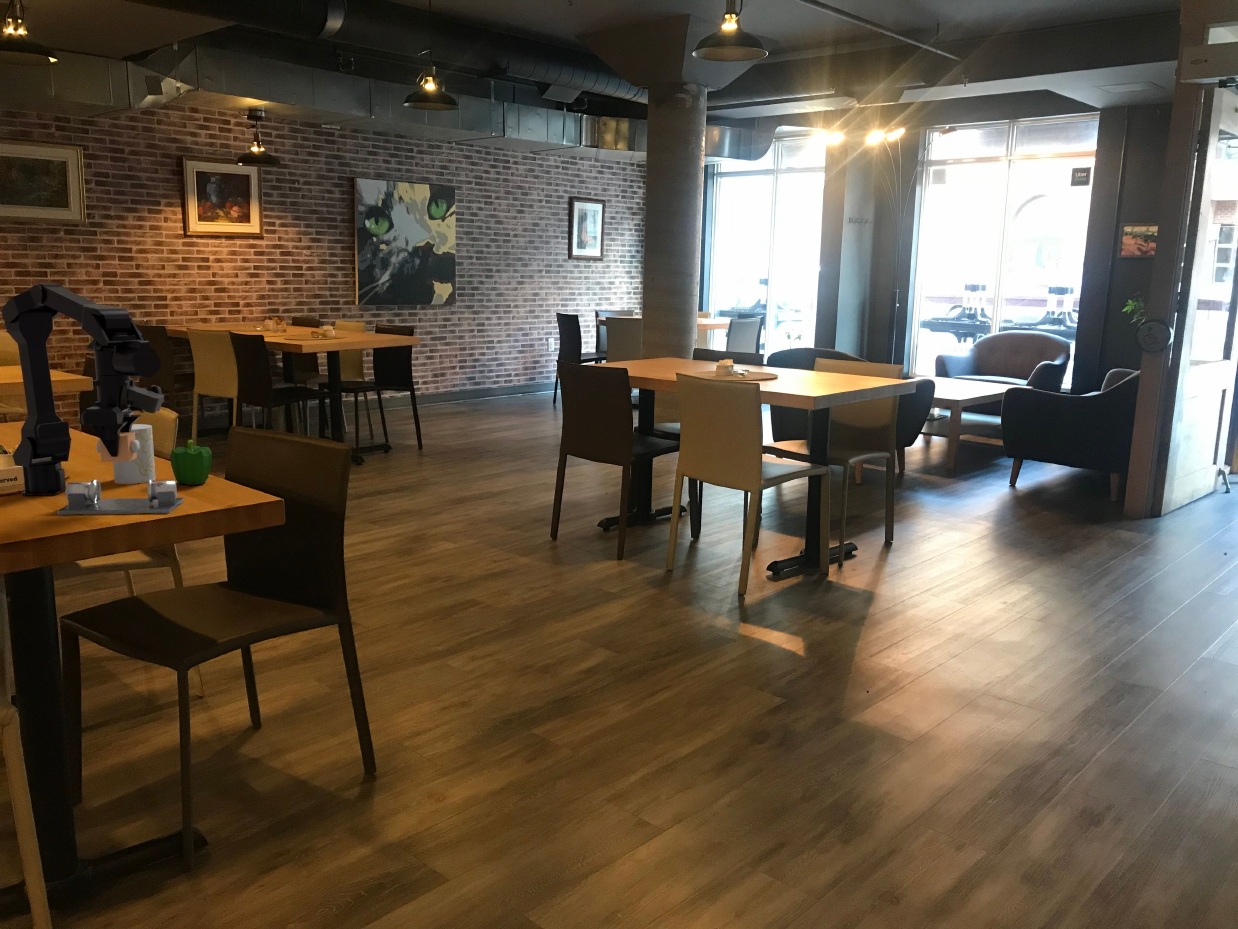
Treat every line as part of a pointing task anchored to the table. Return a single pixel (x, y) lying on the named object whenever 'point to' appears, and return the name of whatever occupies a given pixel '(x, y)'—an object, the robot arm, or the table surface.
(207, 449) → the bell pepper
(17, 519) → the table surface
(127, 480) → the cup
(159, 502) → the shaft
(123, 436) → the coupler
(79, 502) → the bench
